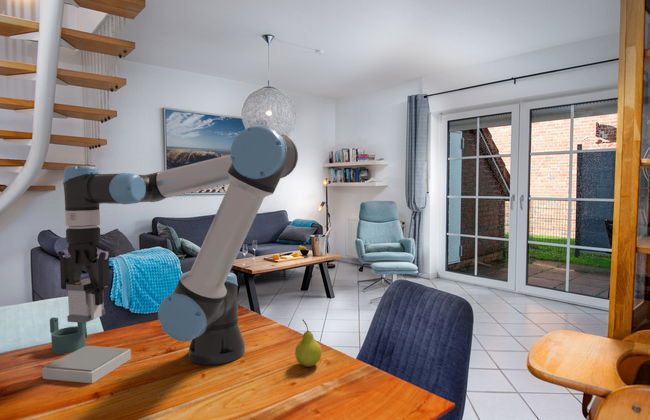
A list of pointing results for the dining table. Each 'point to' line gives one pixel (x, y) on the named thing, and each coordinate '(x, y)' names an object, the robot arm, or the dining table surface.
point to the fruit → (308, 350)
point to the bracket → (67, 337)
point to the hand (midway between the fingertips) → (86, 316)
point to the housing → (80, 301)
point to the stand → (87, 364)
